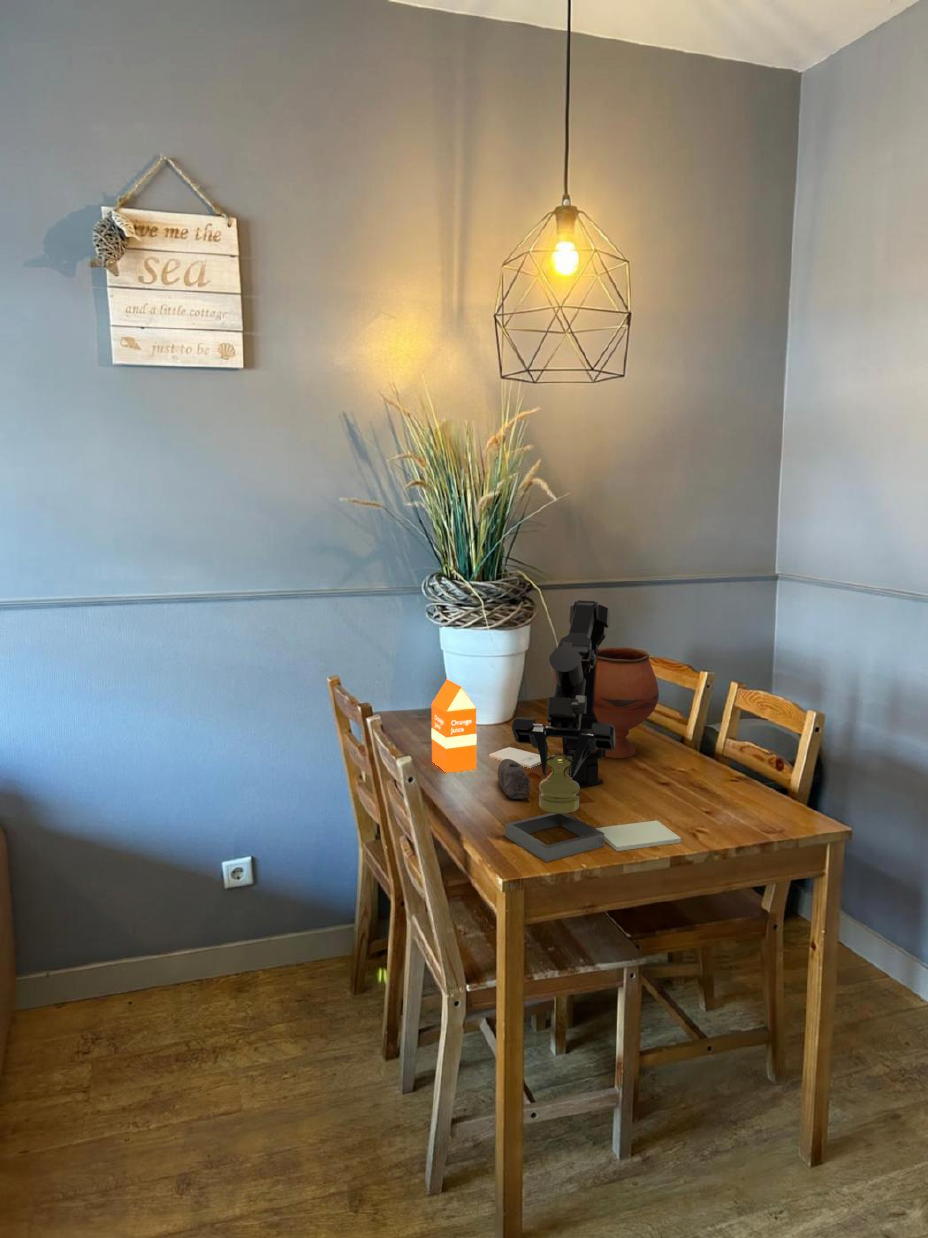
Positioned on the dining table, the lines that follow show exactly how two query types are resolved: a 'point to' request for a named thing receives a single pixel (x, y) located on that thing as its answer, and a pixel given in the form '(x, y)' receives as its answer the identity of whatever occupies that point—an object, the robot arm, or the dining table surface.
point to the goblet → (624, 693)
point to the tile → (638, 835)
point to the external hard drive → (517, 757)
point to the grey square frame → (585, 842)
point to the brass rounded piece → (559, 787)
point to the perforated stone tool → (513, 779)
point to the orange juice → (453, 729)
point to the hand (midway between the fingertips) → (558, 775)
